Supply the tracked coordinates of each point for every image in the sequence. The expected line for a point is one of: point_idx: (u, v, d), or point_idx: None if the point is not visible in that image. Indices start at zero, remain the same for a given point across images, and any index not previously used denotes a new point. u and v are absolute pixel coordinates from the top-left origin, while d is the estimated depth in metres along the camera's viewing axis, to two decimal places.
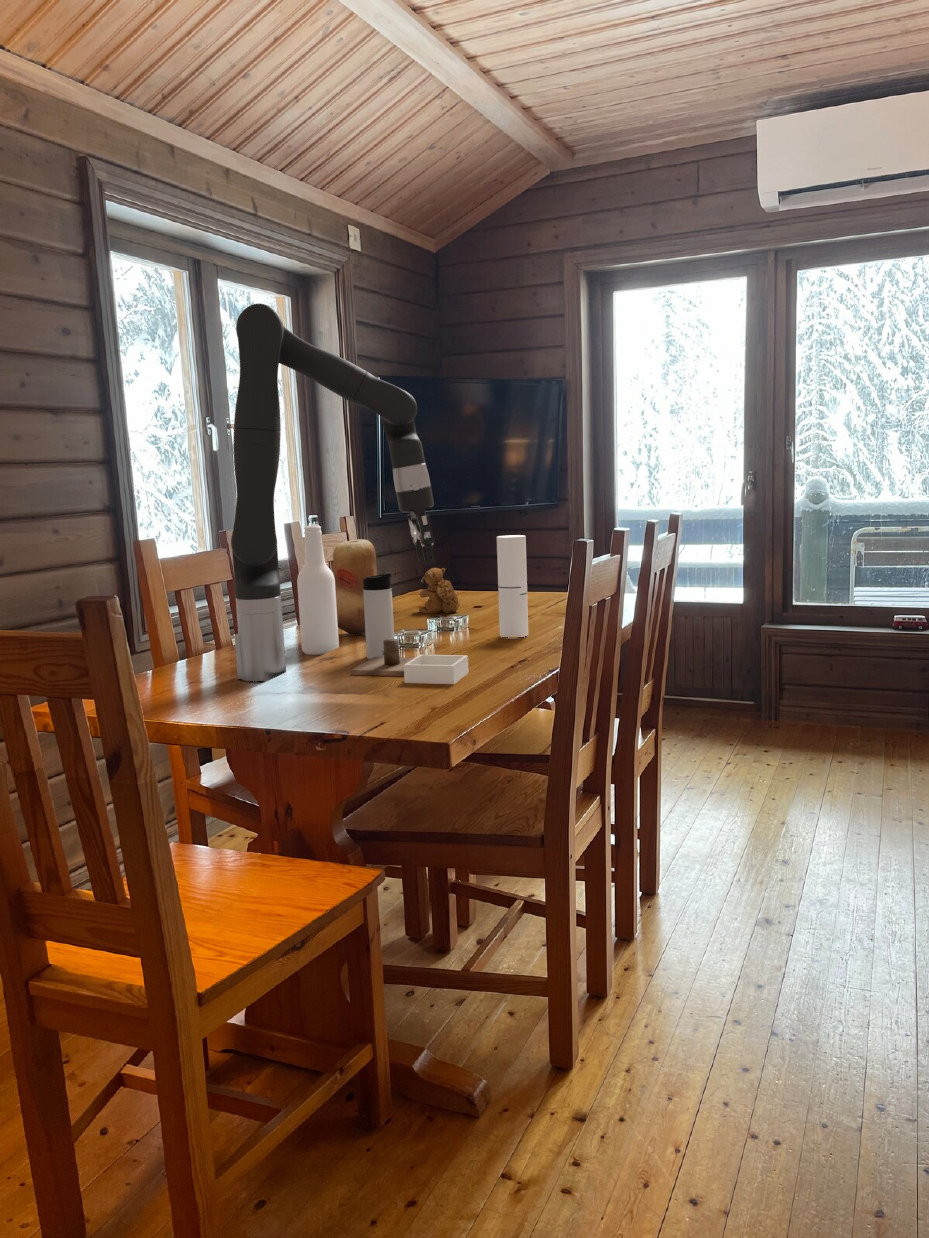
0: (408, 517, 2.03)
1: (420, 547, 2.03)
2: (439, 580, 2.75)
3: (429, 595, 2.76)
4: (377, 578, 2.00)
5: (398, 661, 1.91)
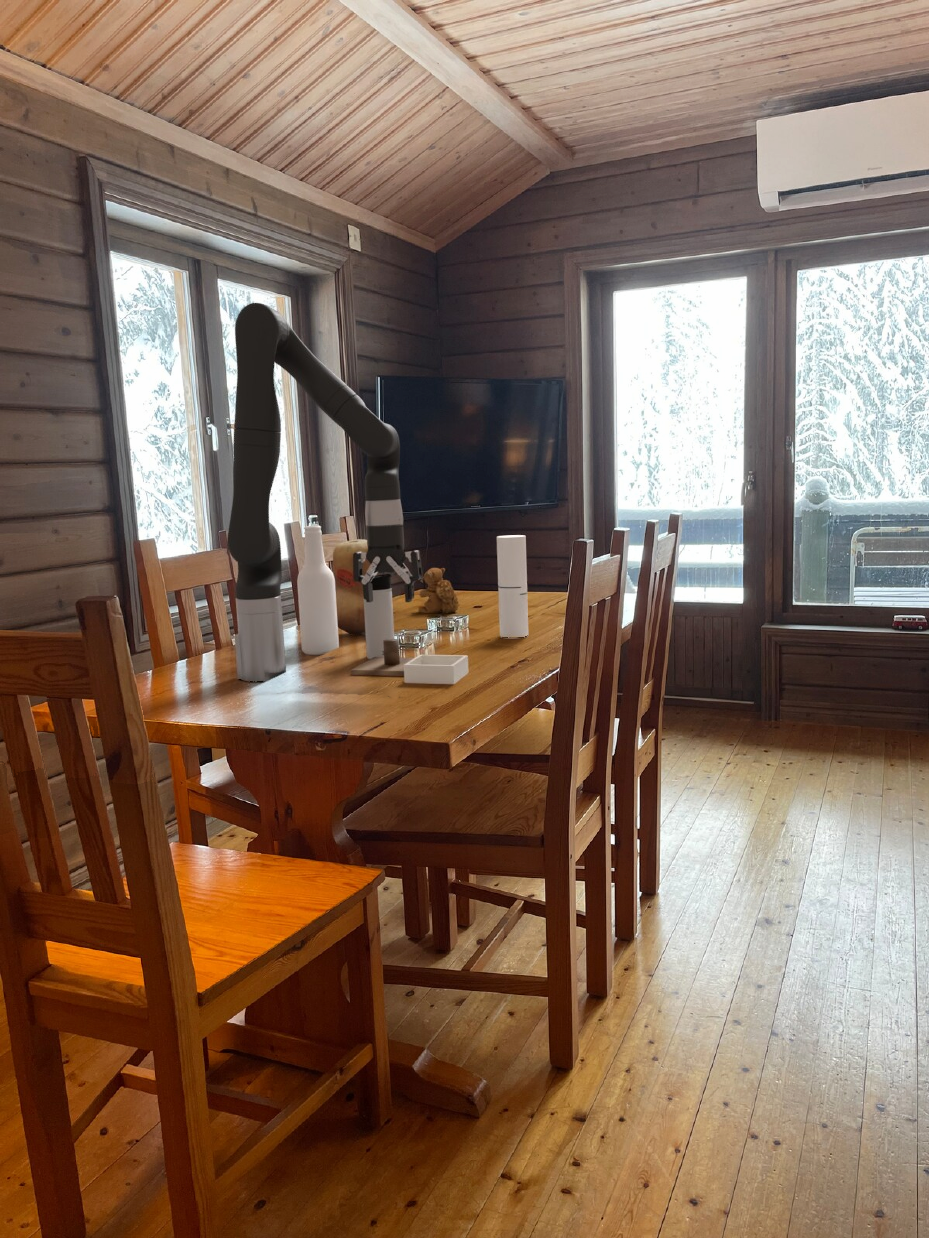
0: (356, 555, 1.89)
1: (370, 587, 1.90)
2: (439, 580, 2.76)
3: (429, 595, 2.76)
4: (377, 578, 2.00)
5: (398, 661, 1.91)
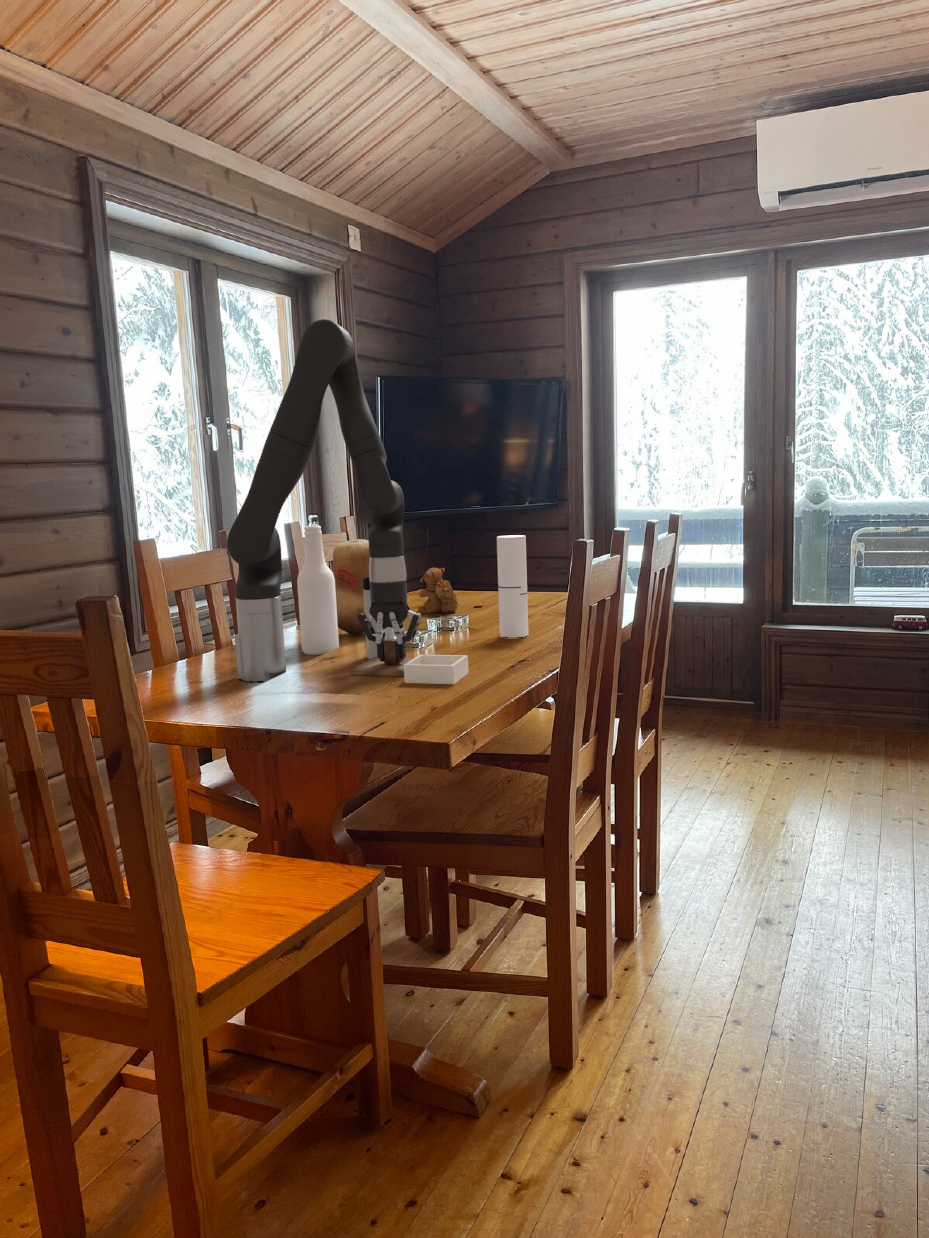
0: (361, 616, 1.91)
1: None
2: (438, 580, 2.76)
3: (428, 595, 2.76)
4: None
5: None
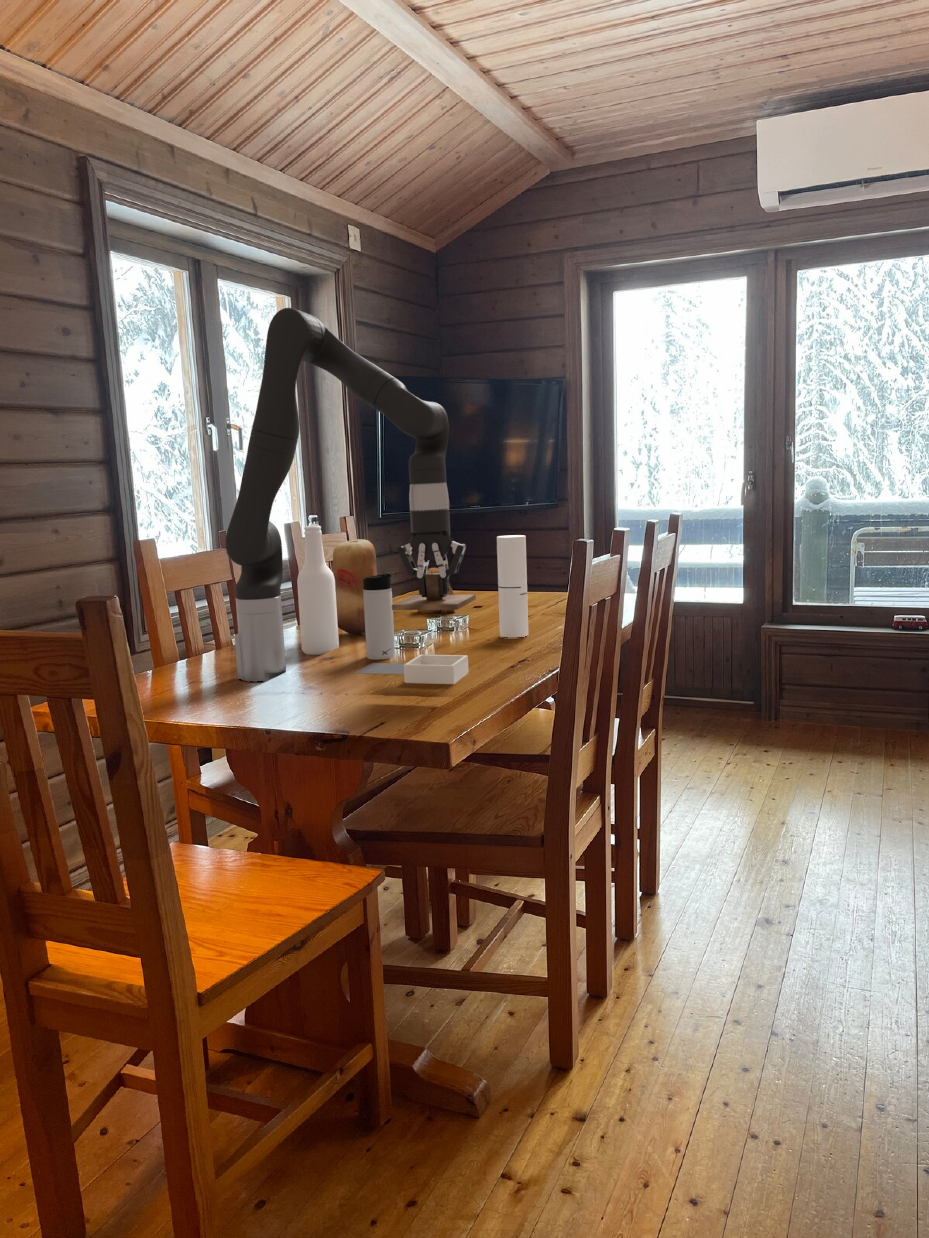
0: (401, 549, 1.79)
1: None
2: None
3: None
4: (377, 578, 2.00)
5: None
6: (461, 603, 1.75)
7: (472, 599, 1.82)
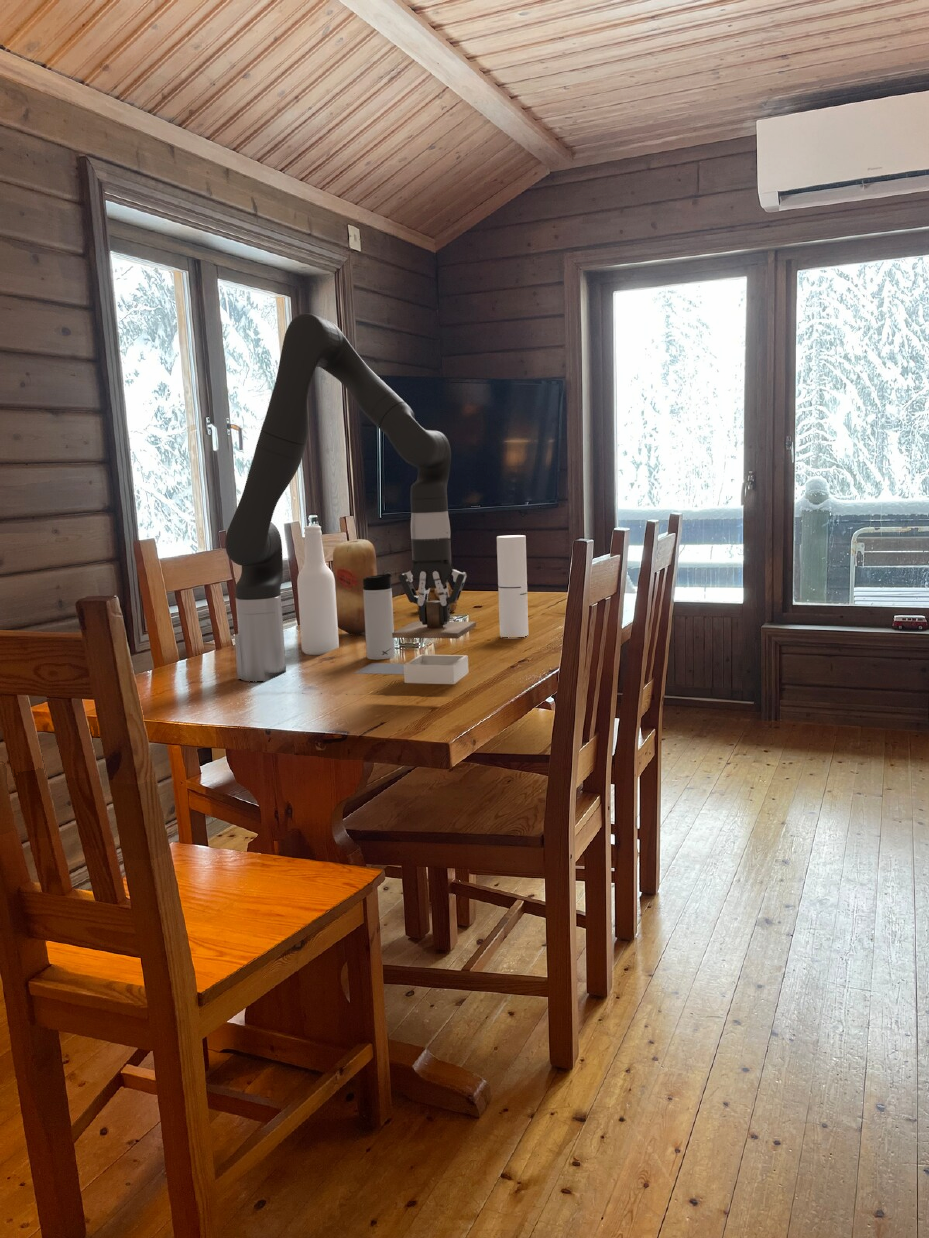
0: (402, 577, 1.79)
1: None
2: None
3: None
4: (377, 578, 2.00)
5: None
6: (461, 632, 1.75)
7: (472, 627, 1.83)
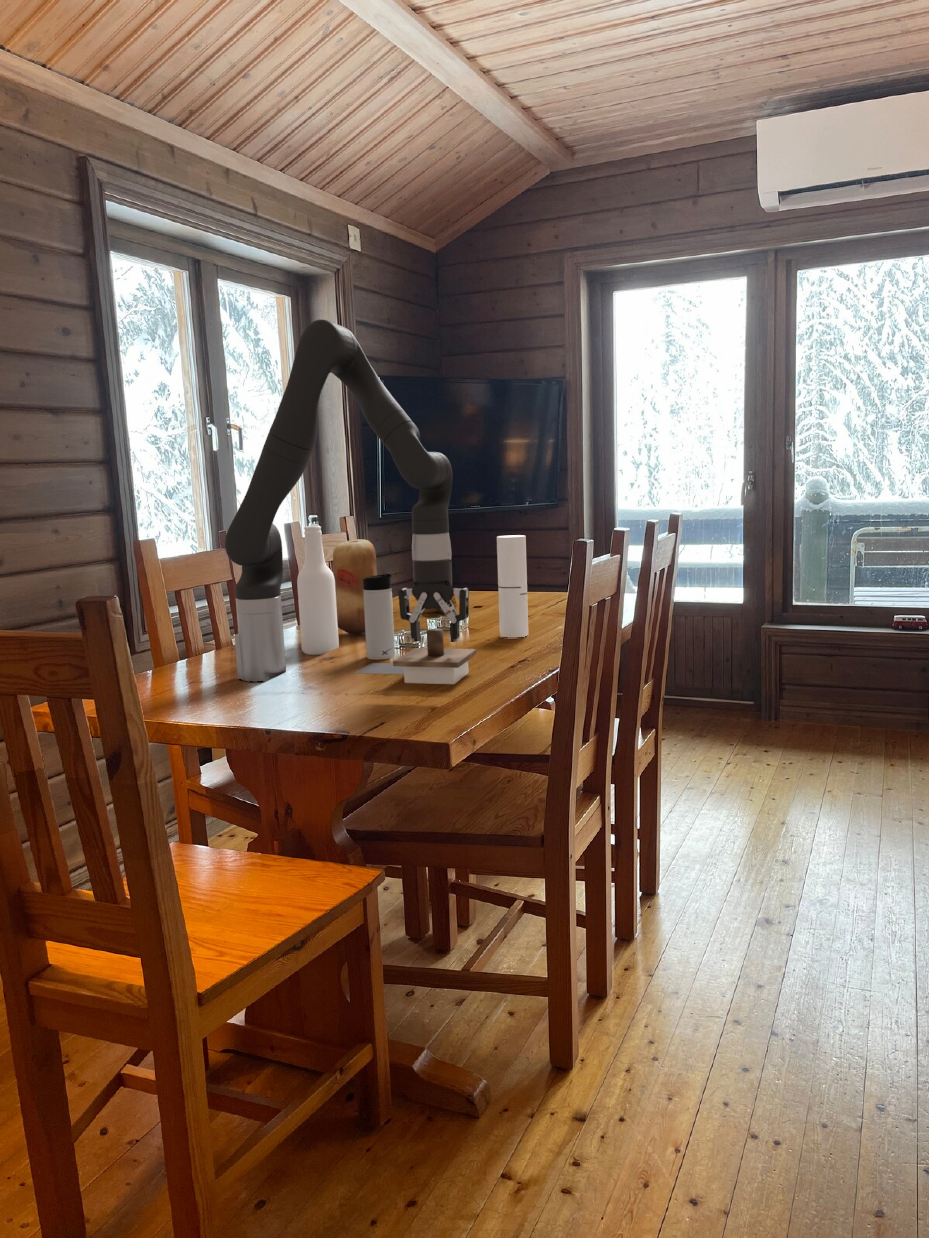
0: (401, 592, 1.80)
1: (417, 626, 1.81)
2: None
3: None
4: (377, 578, 2.00)
5: (442, 652, 1.81)
6: (462, 661, 1.76)
7: (473, 654, 1.84)
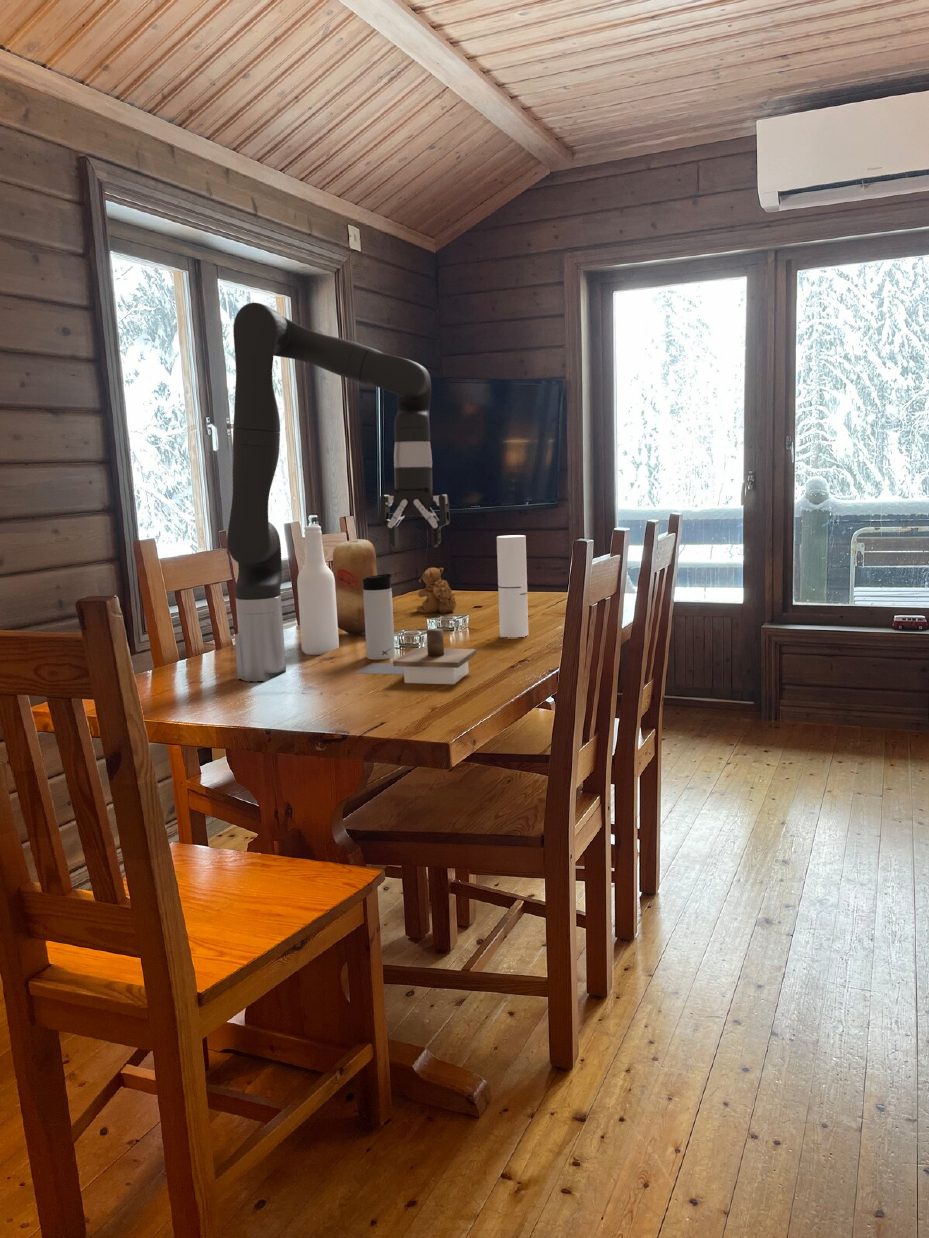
0: (383, 498, 1.86)
1: (396, 532, 1.87)
2: (436, 580, 2.76)
3: (426, 595, 2.77)
4: (377, 578, 2.00)
5: (442, 652, 1.81)
6: (462, 661, 1.76)
7: (473, 654, 1.84)
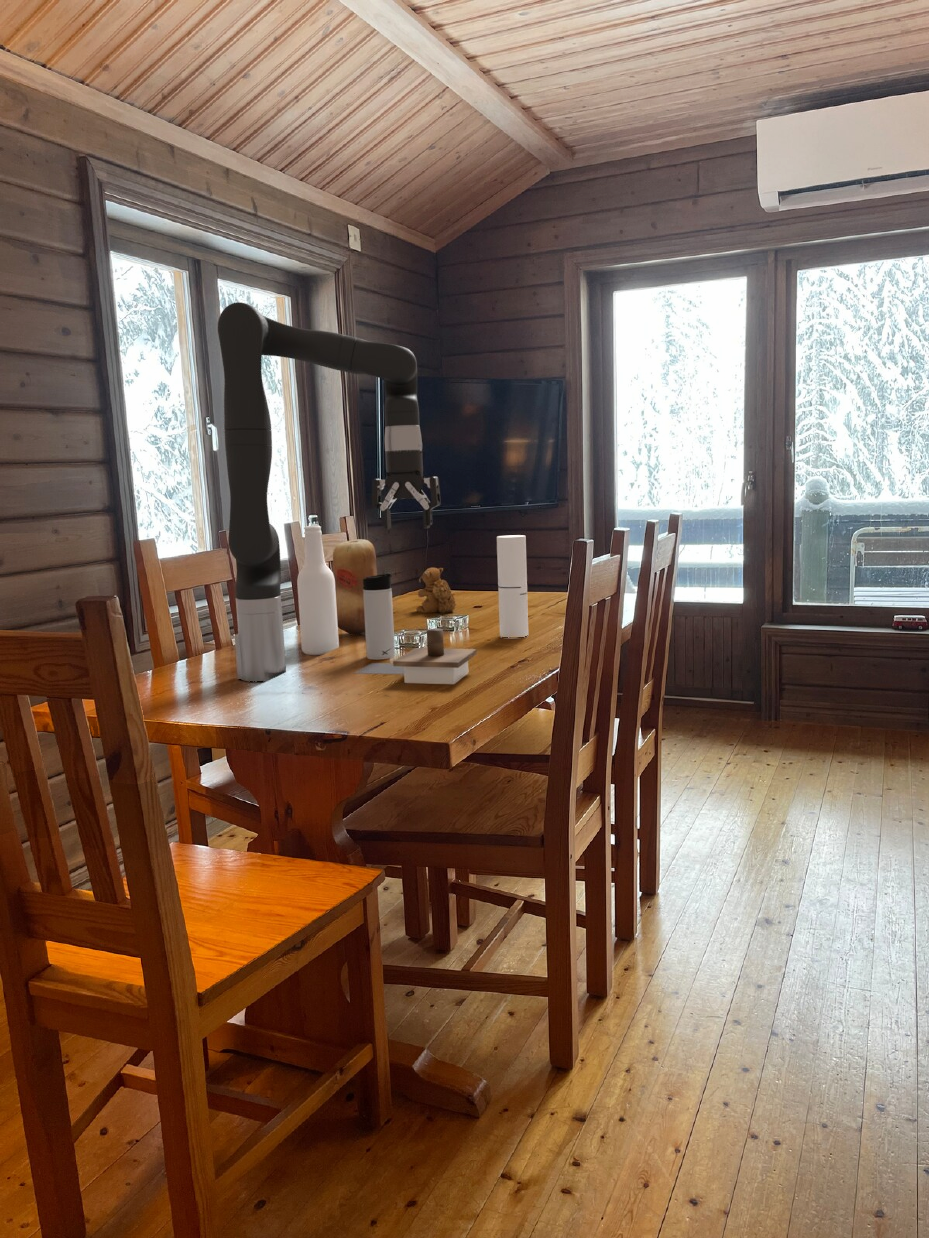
0: (375, 482, 1.91)
1: (388, 514, 1.92)
2: (436, 580, 2.77)
3: (426, 595, 2.77)
4: (377, 578, 2.00)
5: (442, 652, 1.81)
6: (462, 661, 1.76)
7: (473, 654, 1.84)
